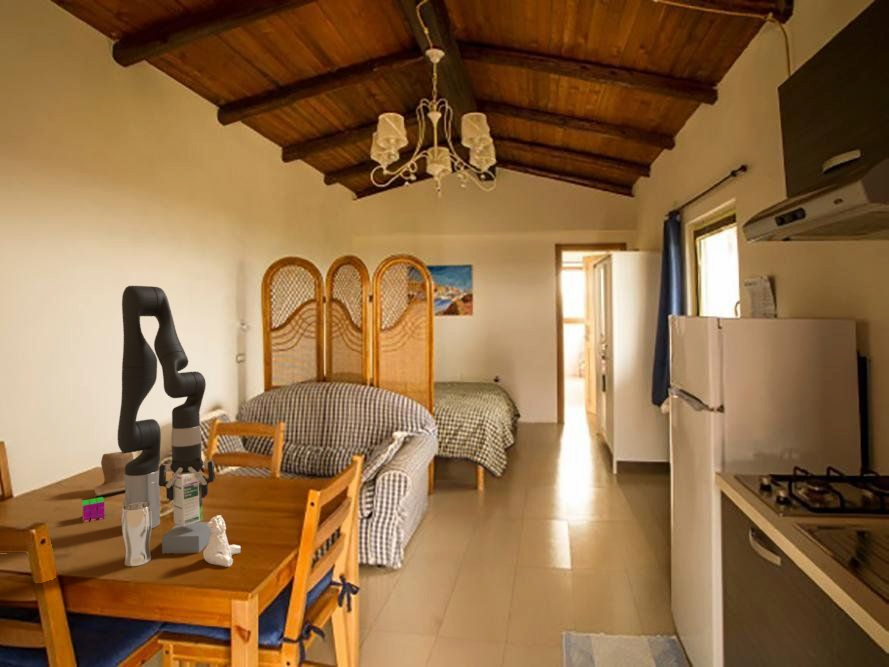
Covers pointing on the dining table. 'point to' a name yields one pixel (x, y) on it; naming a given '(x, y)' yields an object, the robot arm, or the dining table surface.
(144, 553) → the beer glass
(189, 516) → the syrup box
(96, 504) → the puzzle toy
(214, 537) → the white creature statuette
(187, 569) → the dining table surface
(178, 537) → the grey block
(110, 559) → the dining table surface
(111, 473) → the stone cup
